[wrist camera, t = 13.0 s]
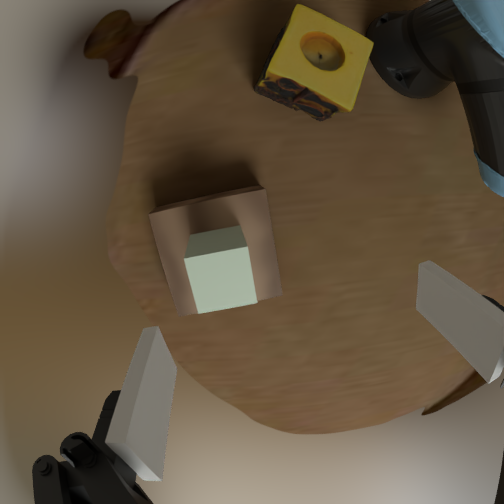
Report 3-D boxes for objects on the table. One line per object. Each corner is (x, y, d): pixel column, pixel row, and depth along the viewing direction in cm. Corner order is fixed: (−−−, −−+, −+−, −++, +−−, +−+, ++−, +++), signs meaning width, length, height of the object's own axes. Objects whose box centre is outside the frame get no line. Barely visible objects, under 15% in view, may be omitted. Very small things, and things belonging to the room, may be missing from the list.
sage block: (240, 225, 34) (247, 246, 27) (248, 271, 37) (257, 302, 29) (190, 234, 34) (183, 258, 27) (200, 280, 36) (198, 313, 29)
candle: (320, 122, 36) (353, 115, 27) (251, 93, 34) (263, 73, 24) (343, 63, 33) (378, 43, 24) (278, 33, 31) (297, 1, 22)
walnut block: (259, 184, 38) (265, 188, 34) (275, 279, 43) (282, 295, 38) (156, 206, 37) (148, 214, 33) (182, 299, 42) (178, 316, 37)
